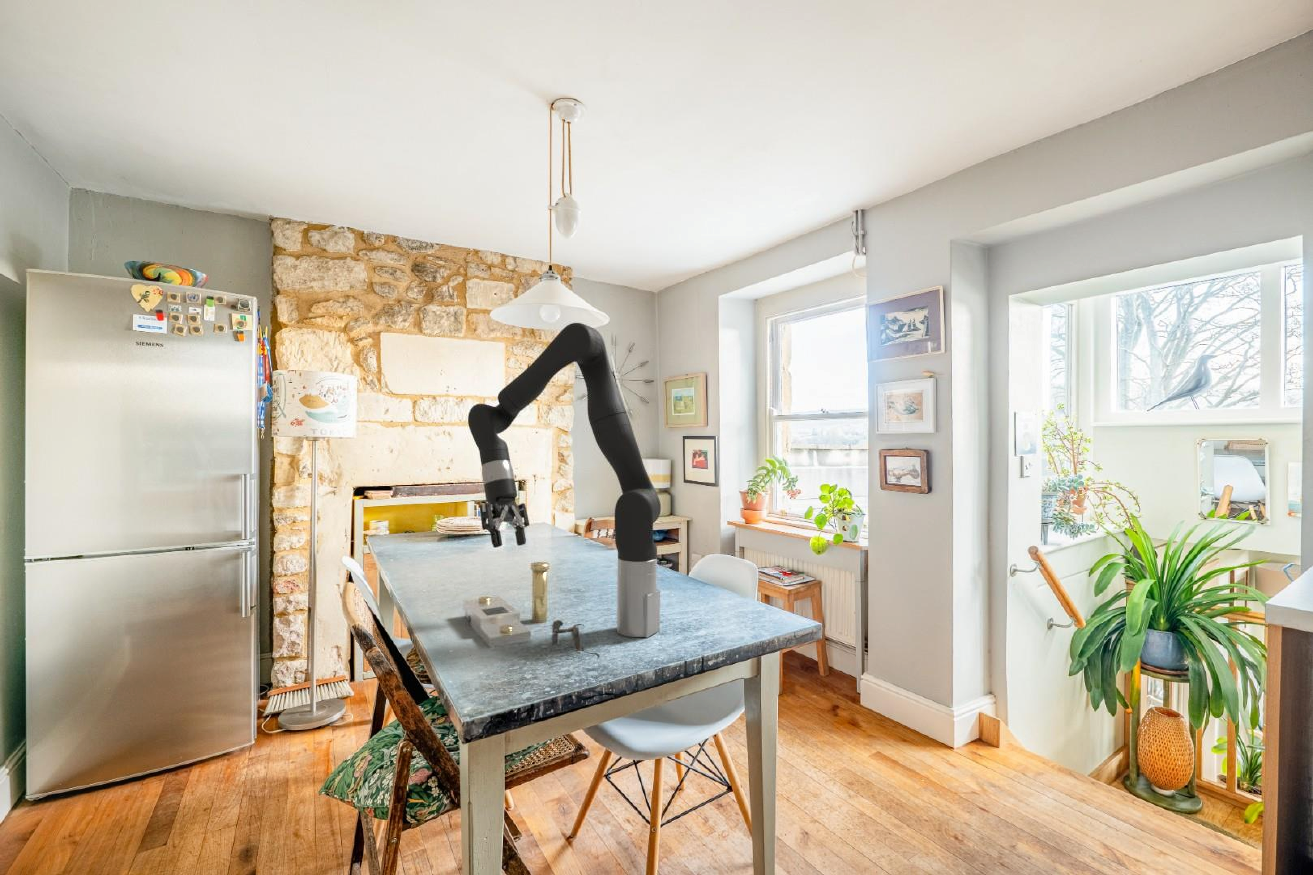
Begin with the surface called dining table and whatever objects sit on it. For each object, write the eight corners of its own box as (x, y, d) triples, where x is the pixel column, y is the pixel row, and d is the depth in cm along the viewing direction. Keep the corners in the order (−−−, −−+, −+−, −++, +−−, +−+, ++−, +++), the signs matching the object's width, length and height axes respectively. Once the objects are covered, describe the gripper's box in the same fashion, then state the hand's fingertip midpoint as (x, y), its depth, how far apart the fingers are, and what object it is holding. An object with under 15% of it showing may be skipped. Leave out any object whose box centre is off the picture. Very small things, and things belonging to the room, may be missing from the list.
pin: (552, 619, 144) (552, 563, 144) (540, 624, 140) (541, 566, 140) (538, 616, 146) (538, 561, 146) (526, 621, 142) (527, 564, 142)
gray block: (530, 640, 129) (530, 618, 129) (490, 647, 124) (490, 625, 124) (498, 611, 149) (499, 593, 149) (463, 616, 145) (463, 597, 145)
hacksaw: (553, 625, 141) (553, 619, 141) (595, 623, 142) (596, 617, 142) (548, 664, 117) (548, 656, 117) (600, 661, 118) (600, 654, 118)
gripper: (490, 475, 136) (501, 543, 132) (529, 478, 149) (540, 540, 145) (466, 484, 139) (477, 551, 135) (507, 486, 152) (517, 547, 148)
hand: (510, 545), depth 140 cm, fingers open, 8 cm apart
